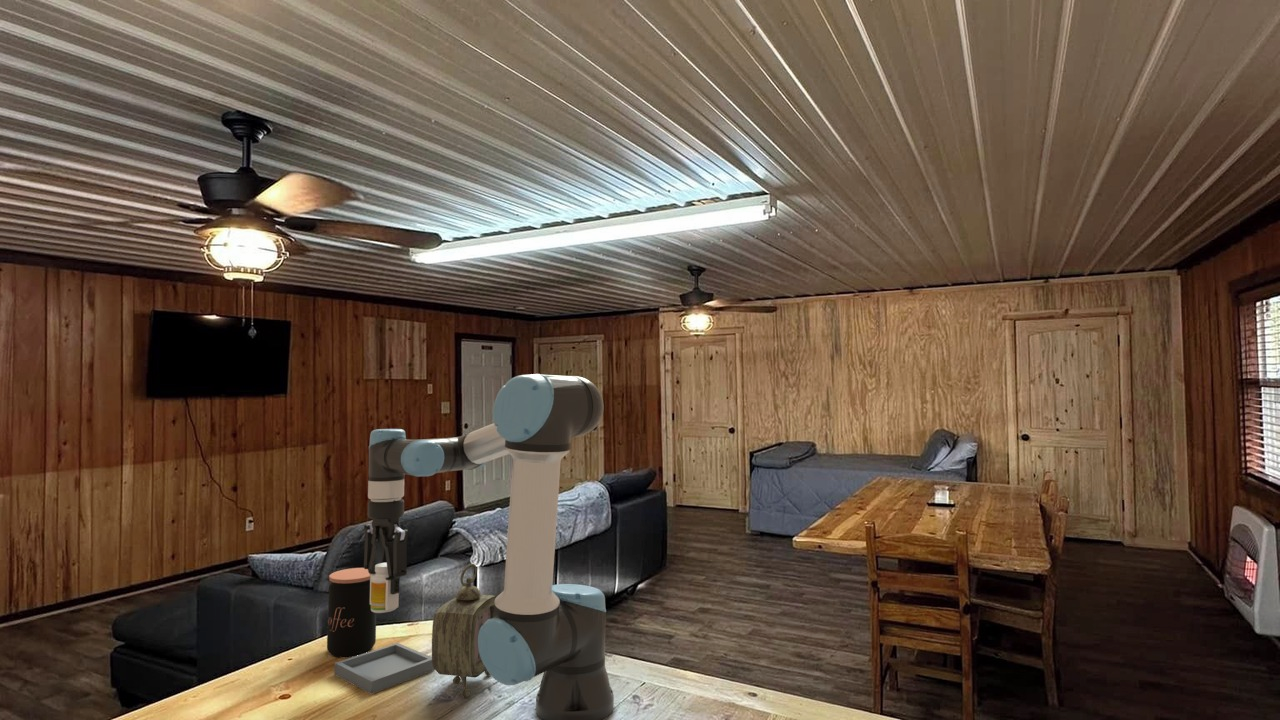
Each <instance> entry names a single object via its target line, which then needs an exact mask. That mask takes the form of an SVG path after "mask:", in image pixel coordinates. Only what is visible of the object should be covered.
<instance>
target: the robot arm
mask: <svg viewBox="0 0 1280 720" xmlns="http://www.w3.org/2000/svg"><path fill="white" fill-rule="evenodd" d="M604 408H605V407H604V400H603V396H602V393H601V392H600V390H599V388H598V387H597V386H596V385H595V384H594V383H593V382H592V381H590V380H589V379H587V378H585V377H582V376H578V375H559V374H558V375H557V374H556V375H555V374H554V375H553V374H542V373H541V374H540V373H533V374H532V373H531V374H521V375H520V374H519V375H516V376H514V377H512V378H510V379H509V380H508V381H507V382H506V383H505V385H503V386H502V387H501V388H500V390H499V391H498V393H497V394H496V397H495V400H494V403H493V410H492V411H493V412H492V417H493V423H491V424H488V425H486V426H483V427H481V428H478V429H476V430H475V429H474V431H471V432H469V433H465V434H463V435H461V436H460V435H459V436H456V437H454V436H453V437H442V438H426V439H425V438H424V439H423V438H422V439H420V438H419V439H409V438H408V439H407V437H406V431H405V430H404V429H402V428H380V429H379V428H378V429H373V430H371V432H370V435H369V446H368V482H367V483H368V486H367V498H368V499H369V501H368V502H367V517H368V518H369V519H370V520H372V521H371V523H367V524H364V526H363V531H364V550H363V551H364V554H363V568H364V569H368V572H369V574H370V605H371V580H372V577H373V576H374V575H375V574H376V572H375V565H376V564H379V563H384V562H383V561H384V557H385V560H386V563H387V569H388V577H387V578H386V599H385V610H391V609H394V608H396V609H397V608H399V600H400V598H399V597H400V596H399V595H400V580H401V578H402V577H404V576H405V577H406V575H407V572H408V570H407V565H408V564H407V563H408V562H407V561H408V560H407V558H408V557H407V541H408V537H409V536H408V535H409V531H408V529H402V528H401V524H400V519H401V518H402V517H403V516H404V515H405V500H404V499H403V497H404V496H405V478H406V477H405V475H408V476H414V477H416V478H417V477H418V478H420V477H431V476H434V475H435V474H438V473H439V474H440V473H446V472H453V471H454V472H455V471H463V470H468V471H469V470H475V469H480V468H483V467H485V466H486V465H487V463H488V462H490V461H492V460H496V459H499V458H501V457H504V456H505V457H506V456H508V455H510V456H511V458H512V464H511V478H510V479H511V481H510V493H509V494H510V496H509V507H508V508H509V511H508V525H507V527H508V528H507V536H506V537H507V539H506V540H507V542H506V554H505V555H506V556H505V568H504V569H505V571H504V584H503V585H504V586H503V587H504V588H503V590H502V592H501V593H499V594H498V595H496V596H497V597H496V598H495V602H494V616H493V618H492V619H488V620H487V621H486V622H485V623H484V625H483V626H482V627H481V628H480V630H479V634H478V649H479V654H480V657H481V660H482V662H483V664H484V665H485V667H486V669H487V671H488V672H489V674H490V675H489V676H491V677H492V678H493V679H494V680H495V681H496V682H498V683H500V684H502V685H505V686H515V685H518V684H521V683H524V682H529V681H531V680H533V678H535V677H537V676H539V675H541V674H542V677H541V680H540V681H541V682H540V686H539V689H538V691H537V692H536V693H537V694H536V697H535V713H536V715H537V716H538V717H539V718H540V719H541V720H604V719H606V718H607V717H608V716H609V715H611V713H613V710H614V706H615V705H614V704H615V703H614V701H615V697H614V691H613V689H612V687H611V684H610V680H609V675H608V672H607V669H606V668H607V667H606V617H607V616H606V615H607V614H606V613H607V609H606V597H605V596H606V595H605V594H604V592H602V590H601V589H600V588H597V587H595V586H589V585H584V584H578V583H577V584H575V583H574V584H573V583H558V584H553V583H554V580H553V579H554V564H555V553H556V551H555V549H556V539H557V538H556V537H557V536H556V535H557V522H558V509H559V508H558V507H559V506H558V505H559V493H560V492H559V490H560V479H561V478H560V476H561V473H560V472H561V462H562V459H563V458H564V457H566V456H567V455H568V453H570V451H571V440H572V439H571V438H574V437H575V438H576V437H582V436H585V435H587V434H589V433H590V432H592V431H594V429H595V428H596V427H597V426H598V425H599V423H600V422H601V420H602V417H603V414H604ZM384 555H385V556H384Z"/></svg>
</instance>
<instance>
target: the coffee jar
mask: <svg viewBox="0 0 1280 720" xmlns="http://www.w3.org/2000/svg"><path fill="white" fill-rule="evenodd" d="M328 579H329V582H330V584H329V586H328V598H327V600H328V601H327V603H328V605H327V630H326V631H327V632H326V633H327V634H326V635H327V637H326V649H327V652H328V654H329V655H330V656H332V657H334V658H341V657H345V658H351V657H352V656H354V657H355V656H357V655H361V654H364V653H366V652H368V651H369V652H370V651H372V649H373V647H374V646H375V644H376V640H377V638H376V636H377V634H376V633H377V613H375V612H372V611H371V605H370V574H369V572H368V569H364V567H351V568H345V569H341V570H337V571H334V572H332V573H330V574H329V575H328Z"/></svg>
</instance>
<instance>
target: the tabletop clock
mask: <svg viewBox="0 0 1280 720" xmlns="http://www.w3.org/2000/svg"><path fill="white" fill-rule="evenodd" d="M470 568H473V569H474V574H473V576H472V577H467V578H466V581H465V582H464V576H465V573H466V572H467V570H468V569H470ZM477 573H478V568H477V566H476V564H475V563H469V564H467V565H466V566H465V567H463V569H462V571H461V574H460V584H461V586H462V587H461V588H459V589H458V591H457V593H456V595H455V597H454V598H452V599H450V600H448V601H446V602H445V603H444V604H442V605H441V606H440V607H438V608H437V610H436V611H435V612H434V614H433V618H432V619H433V620H432V633H431V636H432V637H431V657H432V665H433V668H434V669H435V670H434V671H436V673H437V674H439V675H442V676H454V677H453V679H452V684H453V685H455V686H456V685H459V684H461V683H462V686H463V689H462V691H461V696H462V697H463V698H468V697H470V694H471V691H470V689H469V688H467V686H468V685H467V678H478V677H479V676H480V675H481V674H483V673H484V675H486V676H491V675H490V674H489V672H488V671H487V669H486V667H485V665H484V664H483V662H482V660H481V657H480V654H479V649H478V634H479V630H480V628H481V627H482V626H483V625H484V623H485V622H486V621H487V620H488V619H492V618H493V616H494V602H495V598H496V597H497V596H498V595H489V594H481V591H480V589H479V588H478V587H477V586H475V585H472V583H474V581H475V579H476V577H477Z"/></svg>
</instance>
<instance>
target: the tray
mask: <svg viewBox="0 0 1280 720" xmlns="http://www.w3.org/2000/svg"><path fill="white" fill-rule="evenodd" d="M433 671H436V670H435V669H434V668H433V665H432V656H430V655H428V654H426V653H422V652H420V651H418V650H416V649H413V648H411V647H408V646H406V645H404V644H401V643H399V642H395V643H391V644H389V645H385V646H382V647H379V648H376V649H373V650H370V651H369V652H367V653H364V654H361V655H358V656H354V657H347V658H345V659H342V660H339V661H336V662H334V673H333V674H334V675H335V676H336V677H337V678H338V677H339V678H340V679H342V680H343V681H345V680H346V682H347V681H348V683H349V682H350V683H349V684H351V683H352V685H353V684H354V685H353V686H355V687H357V688H359V689H361V690H363V691H365V692H367V693H369V694H370V695H372V694H375V693H378V692H380V691H383V690H386V689H389V688H392V687H394V686H397V685H399V684H402V683H405V682H407V681H409V680H410V681H411V680H412V679H414V678H415V679H416V678H417V677H420V676H422V675H425V674H427V673H431V672H433Z"/></svg>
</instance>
